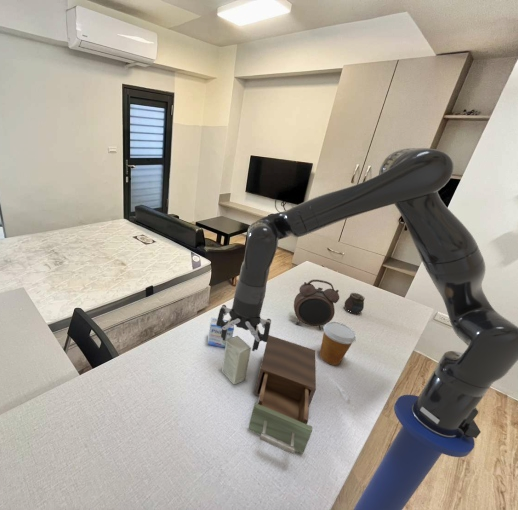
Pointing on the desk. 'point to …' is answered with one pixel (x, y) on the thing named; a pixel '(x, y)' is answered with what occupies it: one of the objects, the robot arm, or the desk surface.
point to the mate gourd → (355, 303)
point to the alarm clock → (315, 304)
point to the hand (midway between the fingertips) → (238, 343)
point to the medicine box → (218, 334)
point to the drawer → (282, 414)
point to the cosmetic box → (236, 359)
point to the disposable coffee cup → (336, 342)
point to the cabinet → (288, 364)
